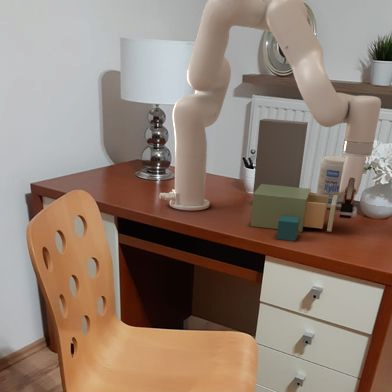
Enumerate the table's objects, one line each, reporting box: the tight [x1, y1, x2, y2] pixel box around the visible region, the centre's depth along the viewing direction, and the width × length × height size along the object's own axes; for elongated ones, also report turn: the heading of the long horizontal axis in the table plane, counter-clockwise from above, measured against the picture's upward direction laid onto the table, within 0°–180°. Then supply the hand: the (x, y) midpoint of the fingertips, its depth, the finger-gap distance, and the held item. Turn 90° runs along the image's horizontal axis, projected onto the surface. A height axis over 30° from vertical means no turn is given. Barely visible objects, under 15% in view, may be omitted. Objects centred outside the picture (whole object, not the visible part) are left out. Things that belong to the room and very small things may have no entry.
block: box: [276, 216, 300, 242], centre depth 140 cm, size 5×5×5 cm
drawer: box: [303, 193, 358, 232], centre depth 147 cm, size 19×11×7 cm, turn 74°
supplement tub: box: [315, 155, 347, 209], centre depth 167 cm, size 10×10×15 cm
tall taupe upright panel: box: [251, 118, 309, 204], centre depth 163 cm, size 14×6×25 cm, turn 68°
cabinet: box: [250, 184, 312, 233], centre depth 150 cm, size 15×13×9 cm
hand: (345, 217), depth 146 cm, fingers closed
